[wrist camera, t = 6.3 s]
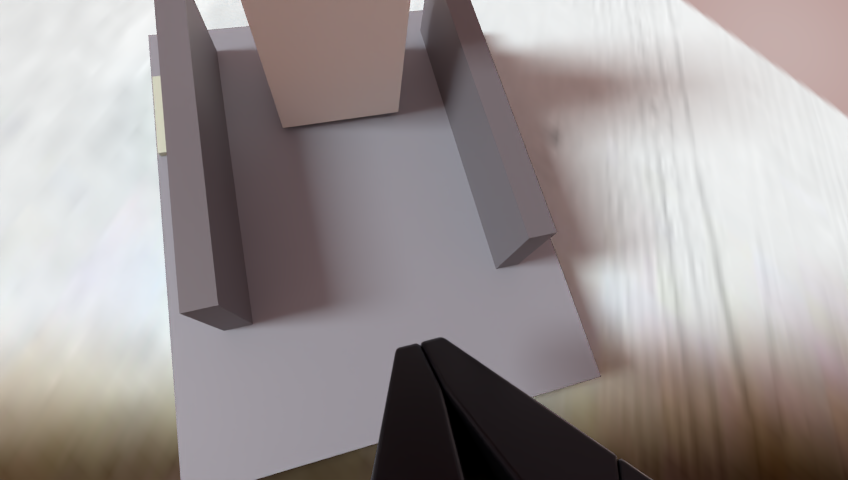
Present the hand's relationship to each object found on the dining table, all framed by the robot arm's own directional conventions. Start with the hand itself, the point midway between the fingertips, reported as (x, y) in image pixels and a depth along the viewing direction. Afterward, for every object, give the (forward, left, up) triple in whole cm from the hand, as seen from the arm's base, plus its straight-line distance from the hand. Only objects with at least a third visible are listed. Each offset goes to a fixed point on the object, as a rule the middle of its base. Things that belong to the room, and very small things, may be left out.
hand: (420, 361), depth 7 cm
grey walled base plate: (+4, -4, -7) cm, 9 cm away
